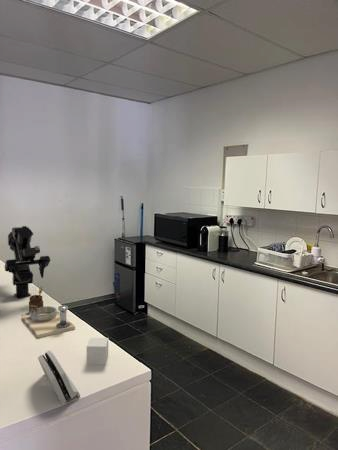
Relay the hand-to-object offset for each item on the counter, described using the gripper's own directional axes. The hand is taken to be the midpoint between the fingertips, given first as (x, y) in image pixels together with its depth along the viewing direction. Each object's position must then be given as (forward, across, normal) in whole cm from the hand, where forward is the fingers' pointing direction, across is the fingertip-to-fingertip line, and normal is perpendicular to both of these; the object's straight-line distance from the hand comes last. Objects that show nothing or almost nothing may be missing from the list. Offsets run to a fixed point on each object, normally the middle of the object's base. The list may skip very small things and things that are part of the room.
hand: (32, 279), depth 149 cm
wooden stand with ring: (+24, 0, -6) cm, 25 cm away
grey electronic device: (+54, -12, -38) cm, 67 cm away
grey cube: (+49, +4, -33) cm, 59 cm away
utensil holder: (+14, 0, +5) cm, 15 cm away
